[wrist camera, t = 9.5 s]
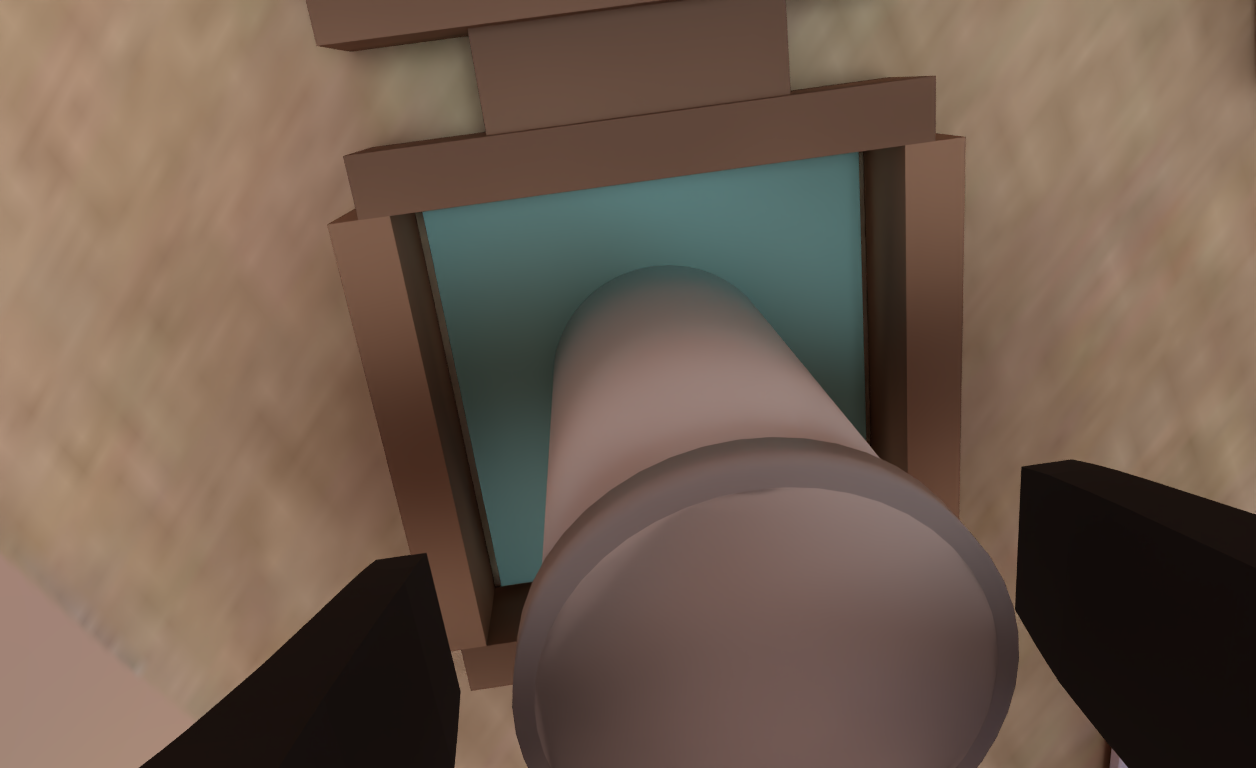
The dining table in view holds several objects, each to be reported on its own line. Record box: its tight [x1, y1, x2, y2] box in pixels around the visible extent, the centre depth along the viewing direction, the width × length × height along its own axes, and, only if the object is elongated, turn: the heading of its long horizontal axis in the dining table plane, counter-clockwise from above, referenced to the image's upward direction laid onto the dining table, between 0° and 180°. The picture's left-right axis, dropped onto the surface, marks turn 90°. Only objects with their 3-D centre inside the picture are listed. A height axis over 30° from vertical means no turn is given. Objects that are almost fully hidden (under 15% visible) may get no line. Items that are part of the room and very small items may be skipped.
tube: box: [512, 265, 1019, 768], centre depth 12 cm, size 5×5×9 cm
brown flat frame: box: [306, 0, 966, 691], centre depth 13 cm, size 22×10×2 cm, turn 7°
